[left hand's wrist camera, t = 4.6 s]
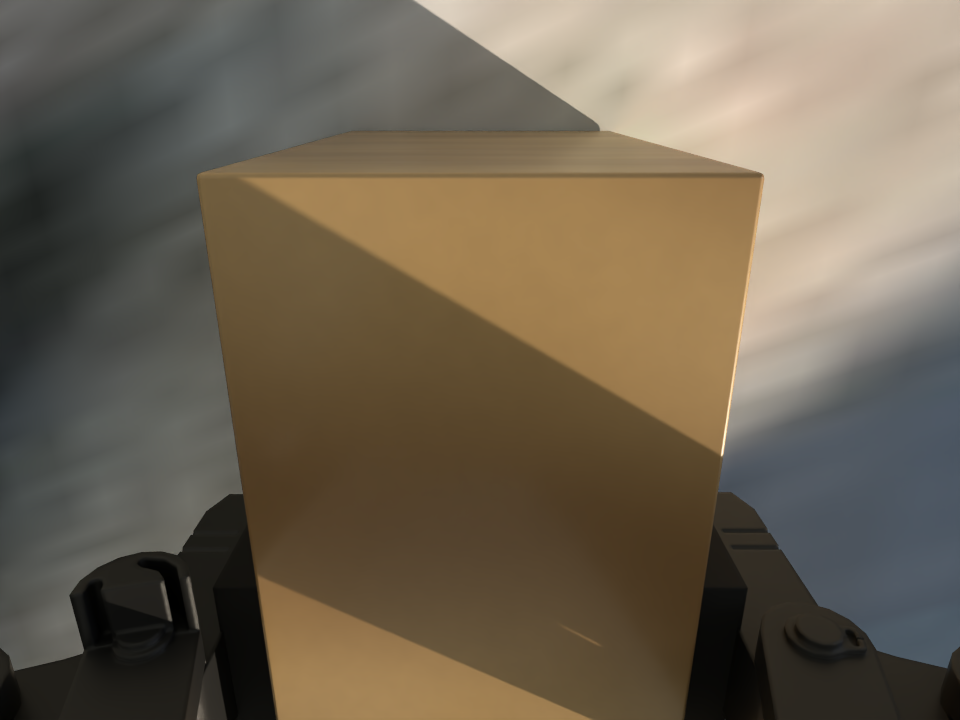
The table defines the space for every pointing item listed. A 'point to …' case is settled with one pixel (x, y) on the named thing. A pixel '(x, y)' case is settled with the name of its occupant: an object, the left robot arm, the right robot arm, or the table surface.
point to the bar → (480, 414)
